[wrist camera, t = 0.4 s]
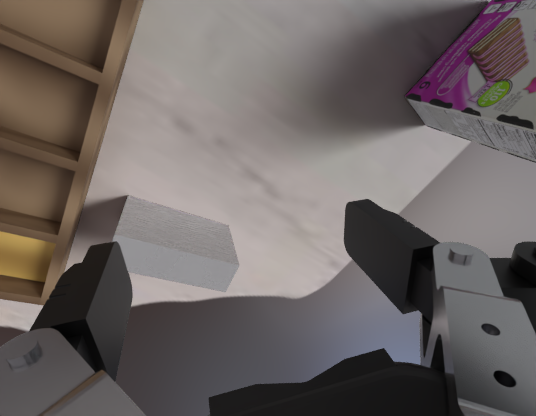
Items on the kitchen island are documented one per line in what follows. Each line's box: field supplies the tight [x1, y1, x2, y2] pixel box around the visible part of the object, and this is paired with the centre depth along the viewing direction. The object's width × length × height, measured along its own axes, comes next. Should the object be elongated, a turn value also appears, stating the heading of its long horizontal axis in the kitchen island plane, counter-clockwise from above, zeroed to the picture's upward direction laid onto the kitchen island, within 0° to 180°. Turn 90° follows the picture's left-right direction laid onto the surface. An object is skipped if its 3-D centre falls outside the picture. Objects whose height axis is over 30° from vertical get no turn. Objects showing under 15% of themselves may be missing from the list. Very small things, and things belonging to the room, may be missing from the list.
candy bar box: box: [405, 0, 536, 162], centre depth 24 cm, size 11×5×16 cm, turn 139°
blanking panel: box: [112, 195, 239, 292], centre depth 28 cm, size 3×10×7 cm, turn 63°
